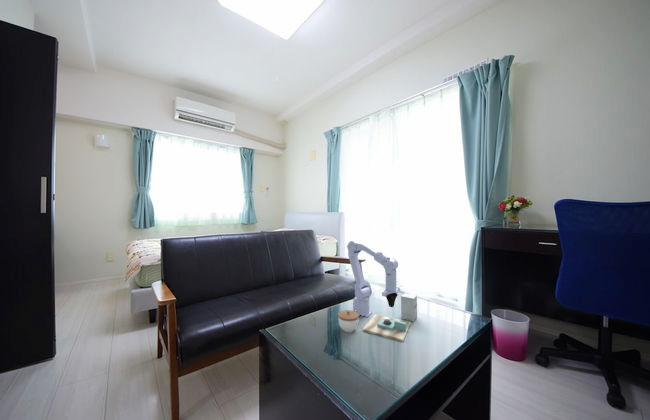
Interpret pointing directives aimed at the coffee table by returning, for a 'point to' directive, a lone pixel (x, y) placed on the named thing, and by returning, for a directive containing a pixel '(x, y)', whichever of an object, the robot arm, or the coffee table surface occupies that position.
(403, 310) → the supplement box
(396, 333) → the board
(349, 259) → the robot arm
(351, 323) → the lidded jar
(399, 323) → the angular block
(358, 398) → the coffee table surface
